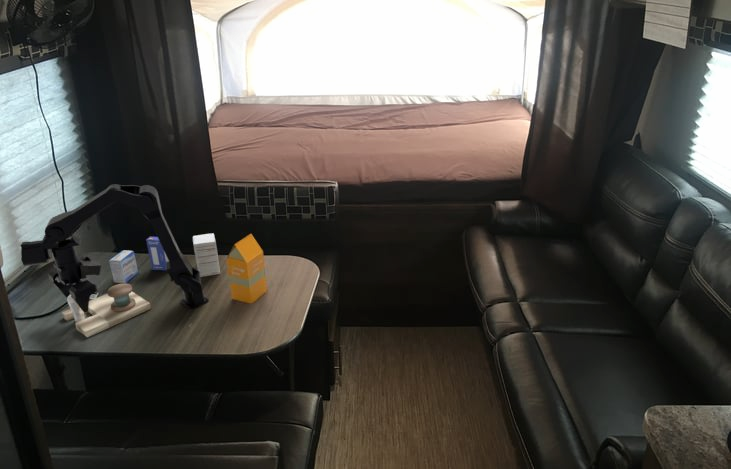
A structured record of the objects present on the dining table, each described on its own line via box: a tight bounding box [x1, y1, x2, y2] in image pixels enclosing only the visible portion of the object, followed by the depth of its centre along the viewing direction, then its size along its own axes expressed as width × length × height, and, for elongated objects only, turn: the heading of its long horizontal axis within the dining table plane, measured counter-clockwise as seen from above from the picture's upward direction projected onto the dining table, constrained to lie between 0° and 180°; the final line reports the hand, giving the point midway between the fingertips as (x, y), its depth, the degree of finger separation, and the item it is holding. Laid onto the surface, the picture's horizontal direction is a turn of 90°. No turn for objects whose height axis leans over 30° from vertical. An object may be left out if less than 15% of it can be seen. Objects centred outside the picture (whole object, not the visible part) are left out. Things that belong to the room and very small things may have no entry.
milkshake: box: [66, 295, 88, 323], centre depth 168 cm, size 5×5×10 cm
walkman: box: [145, 236, 169, 271], centre depth 197 cm, size 8×3×12 cm, turn 81°
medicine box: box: [108, 249, 139, 284], centre depth 192 cm, size 8×4×9 cm, turn 168°
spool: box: [106, 283, 136, 312], centre depth 172 cm, size 7×7×6 cm
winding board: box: [61, 291, 152, 338], centre depth 173 cm, size 16×20×2 cm
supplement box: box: [192, 232, 221, 278], centre depth 194 cm, size 7×7×13 cm
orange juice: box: [226, 233, 268, 304], centre depth 178 cm, size 8×9×20 cm
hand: (78, 306), depth 168 cm, fingers open, 9 cm apart
